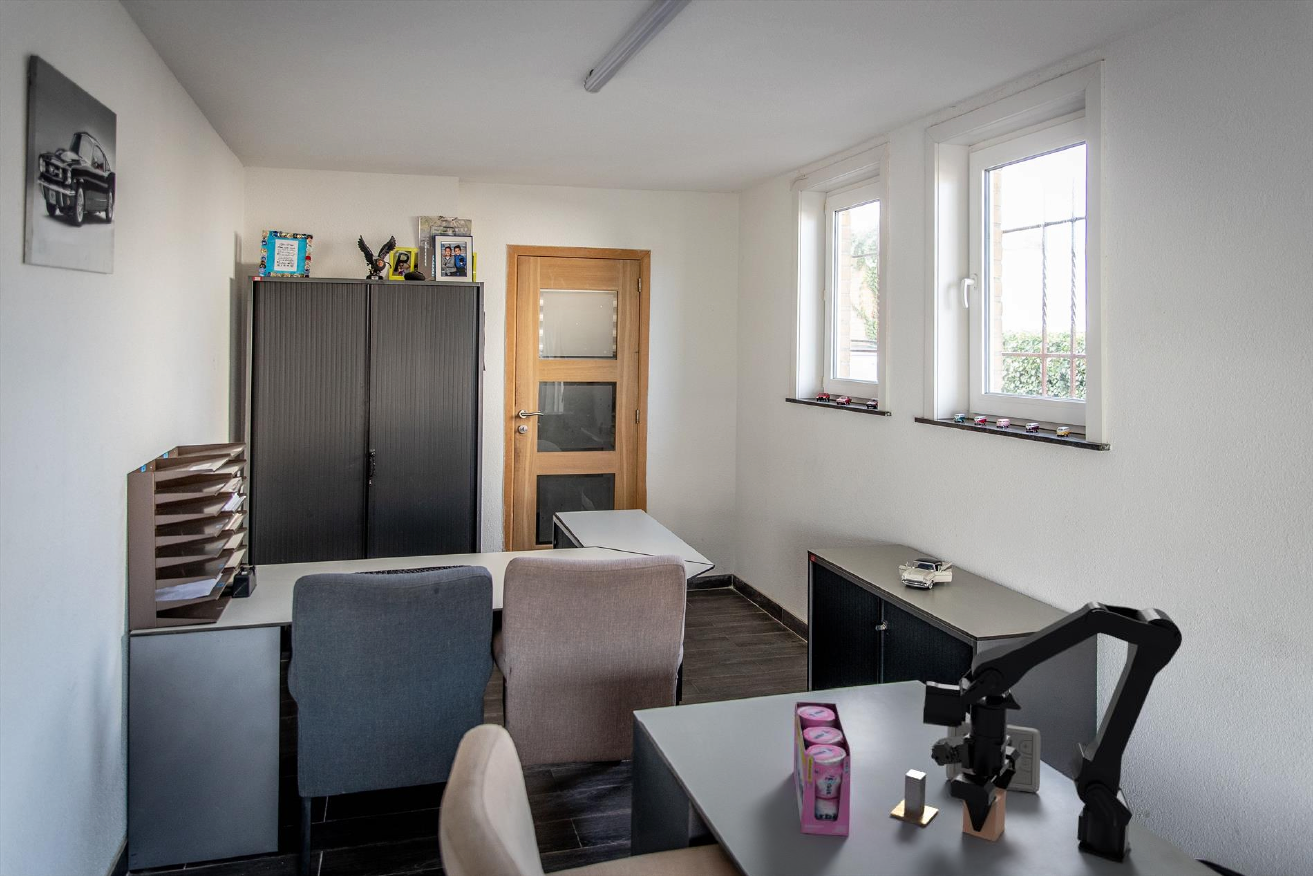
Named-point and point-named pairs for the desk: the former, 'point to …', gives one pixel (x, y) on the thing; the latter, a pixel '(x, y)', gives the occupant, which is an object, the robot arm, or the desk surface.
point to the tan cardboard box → (989, 818)
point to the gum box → (821, 769)
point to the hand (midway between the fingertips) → (983, 822)
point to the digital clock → (1025, 774)
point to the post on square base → (914, 801)
